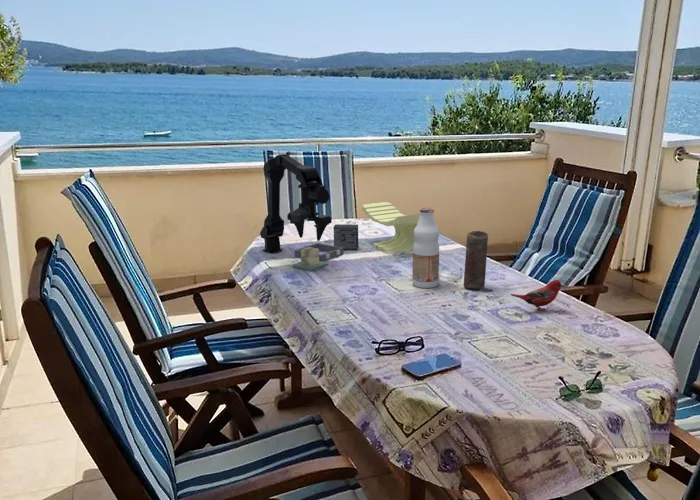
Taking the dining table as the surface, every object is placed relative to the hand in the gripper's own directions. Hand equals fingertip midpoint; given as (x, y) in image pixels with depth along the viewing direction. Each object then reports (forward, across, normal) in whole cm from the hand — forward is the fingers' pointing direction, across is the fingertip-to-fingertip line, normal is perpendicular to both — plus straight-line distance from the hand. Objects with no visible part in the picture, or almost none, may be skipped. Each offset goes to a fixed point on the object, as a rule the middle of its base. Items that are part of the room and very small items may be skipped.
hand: (309, 239), depth 241 cm
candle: (+12, +65, +15) cm, 67 cm away
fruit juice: (+12, +49, +8) cm, 51 cm away
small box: (+11, -5, +30) cm, 32 cm away
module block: (+10, 0, 0) cm, 10 cm away
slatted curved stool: (+11, +12, +42) cm, 46 cm away
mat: (+11, 0, 0) cm, 11 cm away
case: (+11, -7, +14) cm, 19 cm away
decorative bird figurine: (+12, +91, +6) cm, 92 cm away
